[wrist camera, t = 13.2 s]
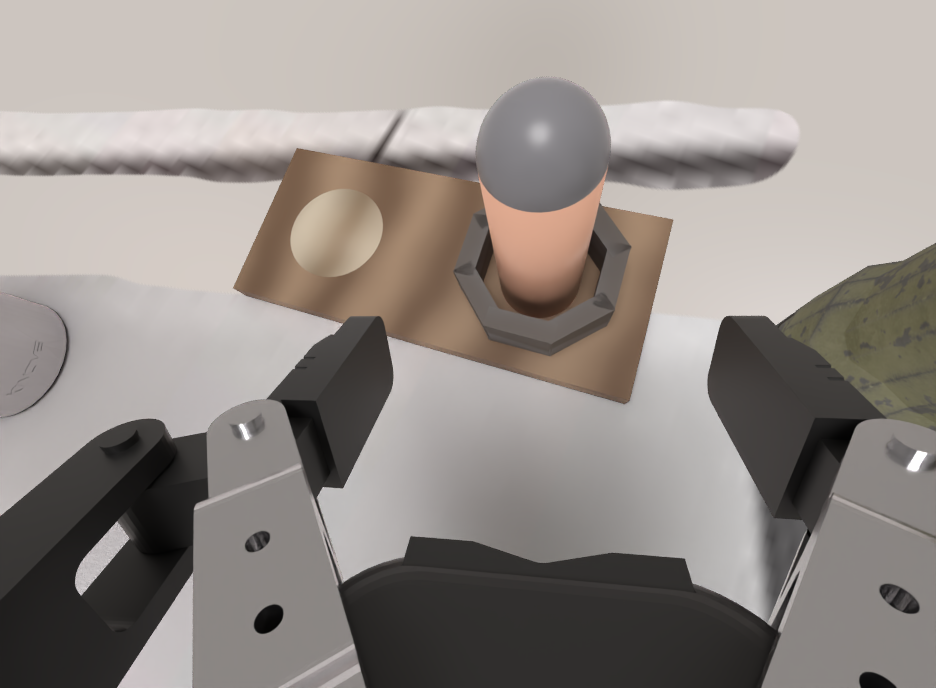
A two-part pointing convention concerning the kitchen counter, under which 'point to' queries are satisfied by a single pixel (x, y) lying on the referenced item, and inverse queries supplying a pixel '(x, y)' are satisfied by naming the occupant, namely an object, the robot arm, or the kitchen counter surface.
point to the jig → (450, 272)
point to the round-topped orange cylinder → (542, 189)
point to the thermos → (880, 335)
